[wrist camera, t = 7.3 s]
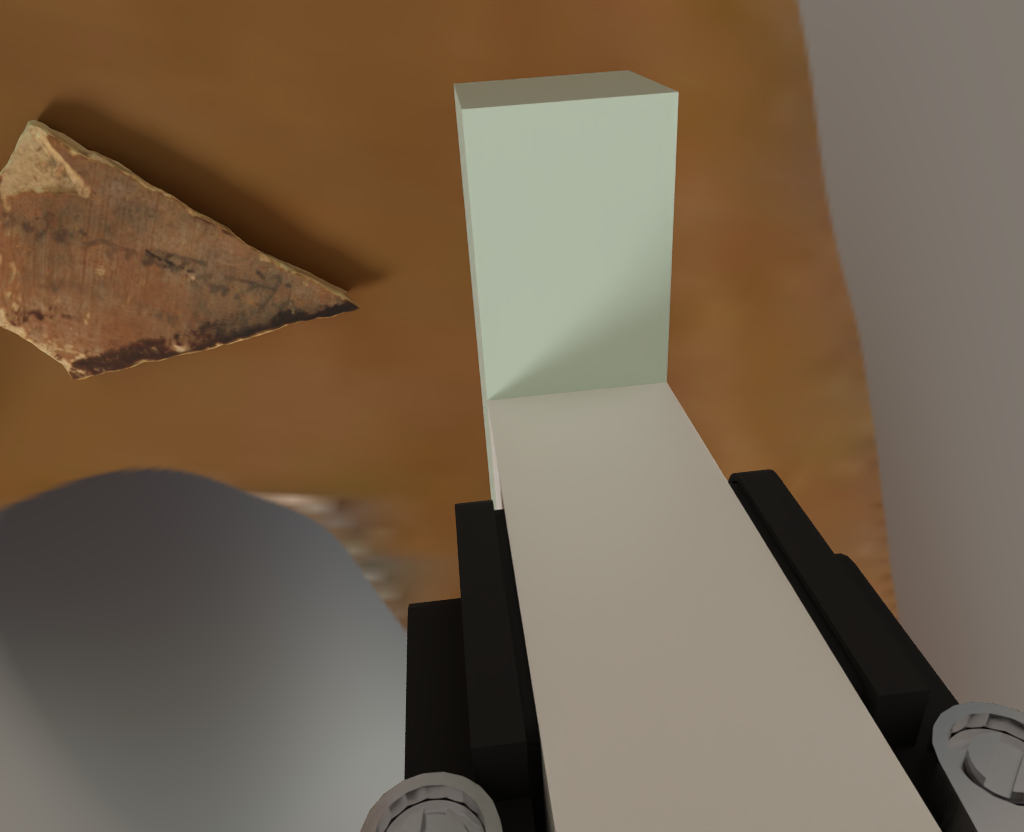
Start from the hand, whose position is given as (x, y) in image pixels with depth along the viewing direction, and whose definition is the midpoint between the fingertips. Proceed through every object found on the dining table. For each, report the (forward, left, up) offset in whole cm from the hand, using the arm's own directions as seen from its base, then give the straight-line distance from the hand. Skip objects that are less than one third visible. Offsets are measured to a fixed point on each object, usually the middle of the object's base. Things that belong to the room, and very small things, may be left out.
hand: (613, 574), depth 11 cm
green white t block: (0, 0, -6) cm, 6 cm away
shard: (+12, -1, -18) cm, 22 cm away
